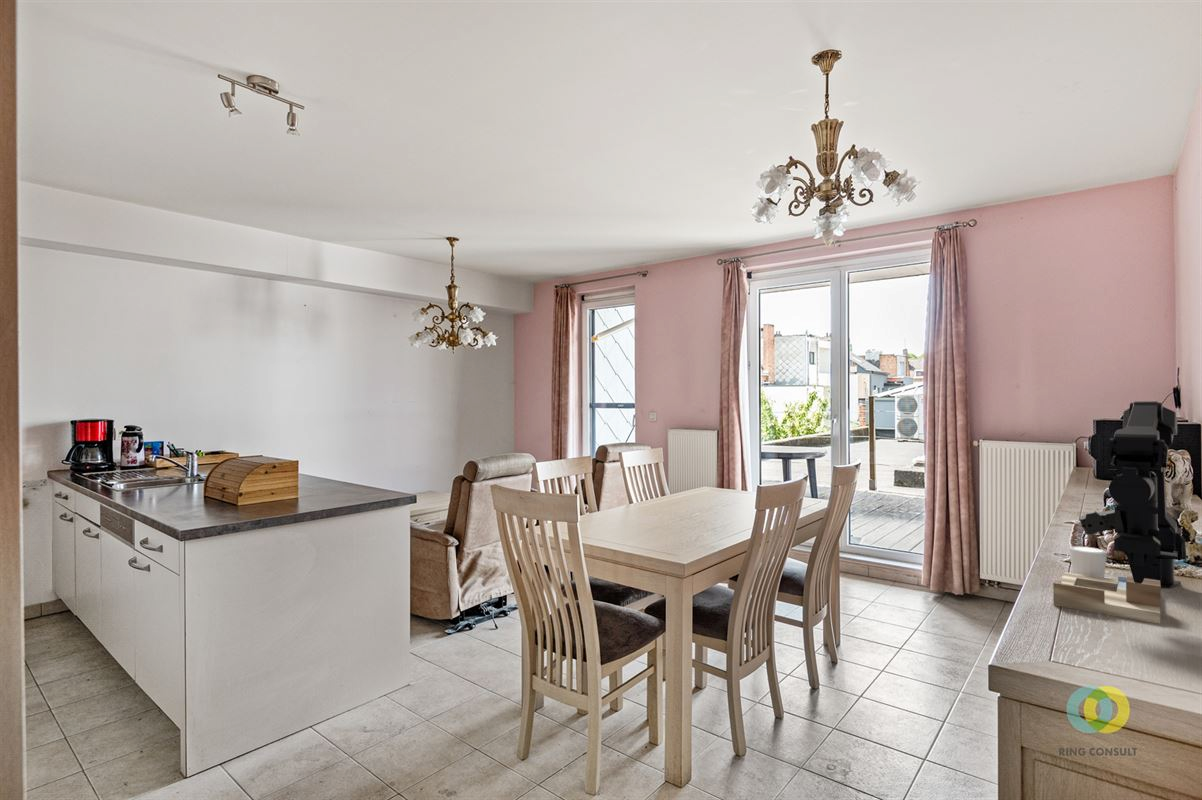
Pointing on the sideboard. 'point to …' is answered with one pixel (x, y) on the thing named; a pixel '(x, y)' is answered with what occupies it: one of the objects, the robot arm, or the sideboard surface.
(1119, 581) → the strip
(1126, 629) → the sideboard surface
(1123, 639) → the sideboard surface
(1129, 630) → the sideboard surface
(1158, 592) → the walnut block
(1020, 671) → the sideboard surface
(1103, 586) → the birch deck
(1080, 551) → the white cylinder
